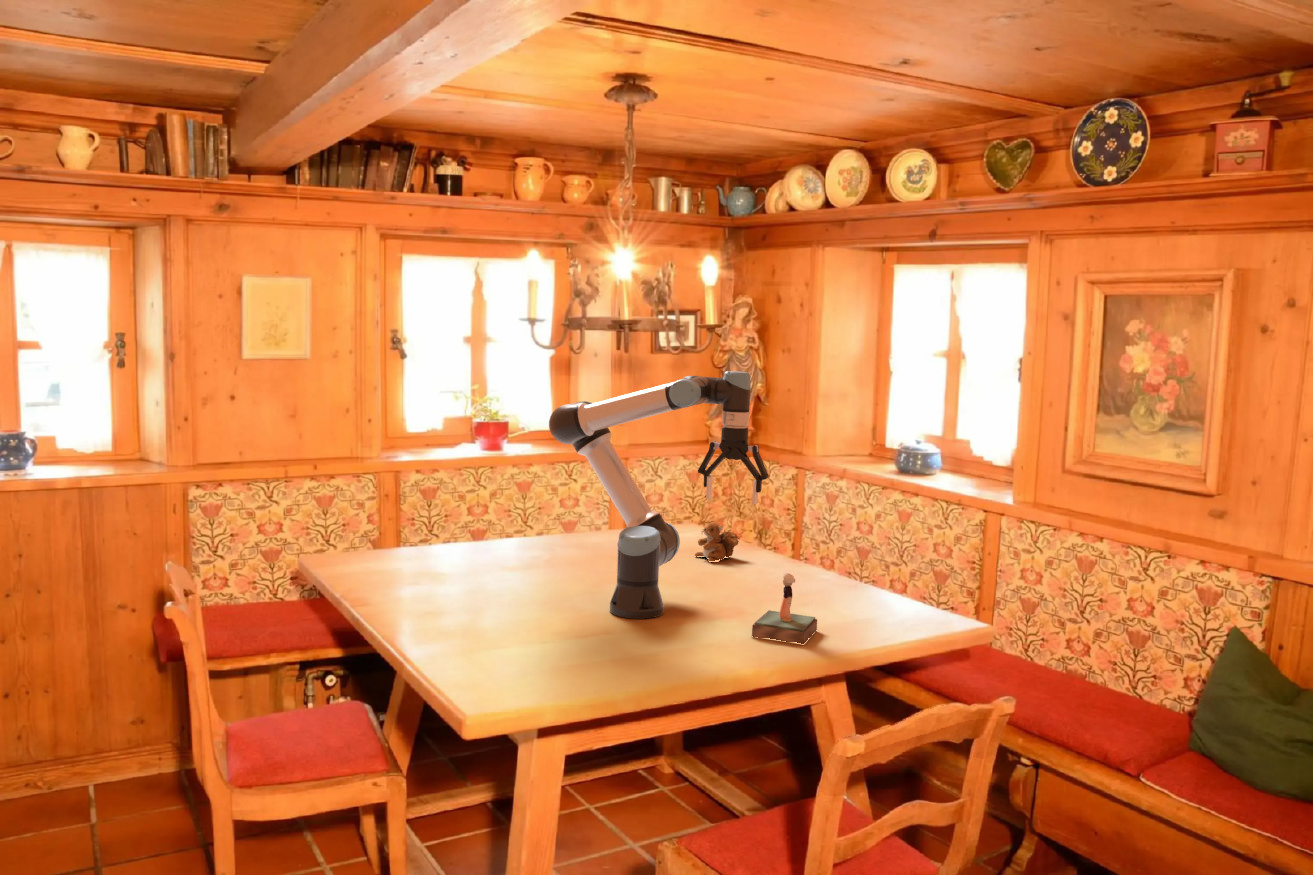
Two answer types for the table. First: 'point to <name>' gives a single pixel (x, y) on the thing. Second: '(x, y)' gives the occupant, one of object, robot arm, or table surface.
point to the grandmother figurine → (786, 598)
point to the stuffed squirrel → (717, 542)
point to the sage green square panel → (784, 627)
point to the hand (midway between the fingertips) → (731, 501)
